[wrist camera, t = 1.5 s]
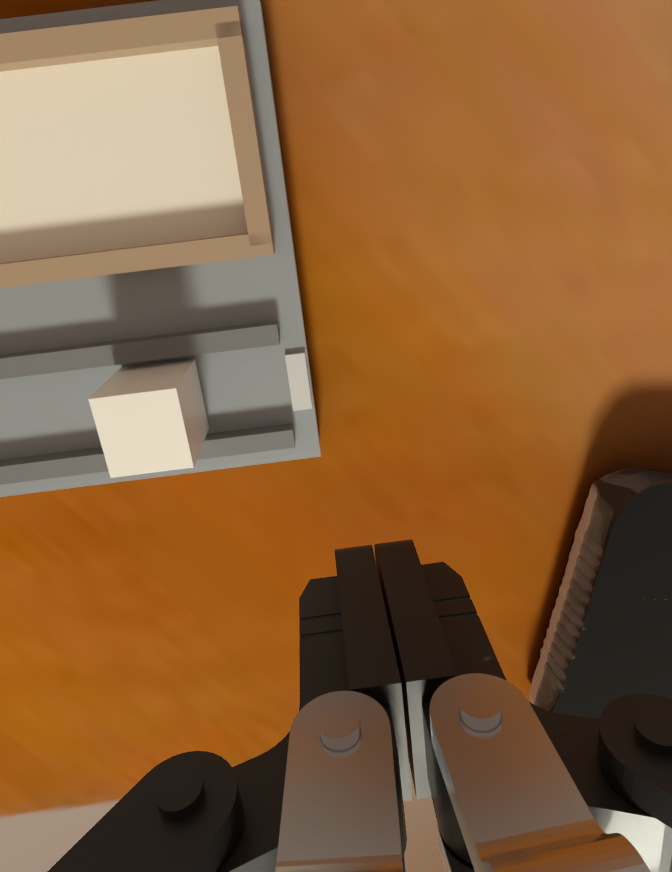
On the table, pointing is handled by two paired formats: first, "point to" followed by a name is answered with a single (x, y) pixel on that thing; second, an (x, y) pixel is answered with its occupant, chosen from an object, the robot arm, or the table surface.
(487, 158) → the table surface
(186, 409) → the switch tab
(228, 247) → the switch board
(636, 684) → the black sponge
